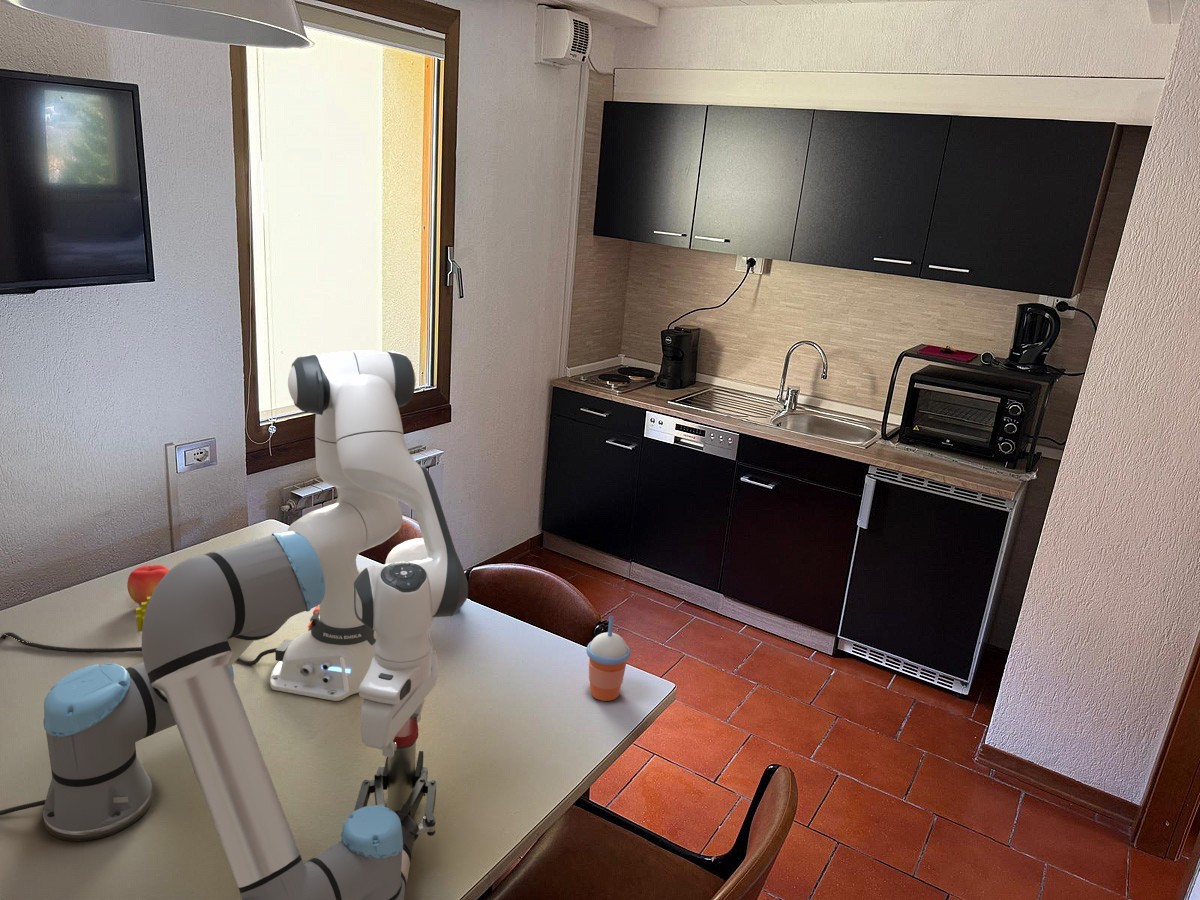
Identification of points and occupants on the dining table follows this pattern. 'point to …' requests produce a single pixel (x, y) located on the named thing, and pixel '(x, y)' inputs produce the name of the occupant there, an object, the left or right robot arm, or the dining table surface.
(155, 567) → the apple
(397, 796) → the jar
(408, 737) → the lid
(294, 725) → the dining table surface
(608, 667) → the cup with straw
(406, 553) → the skull
